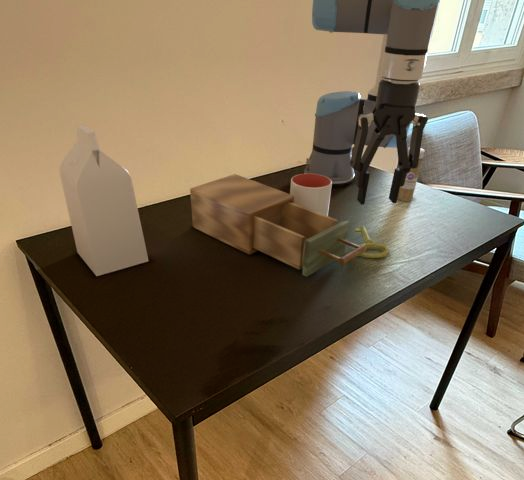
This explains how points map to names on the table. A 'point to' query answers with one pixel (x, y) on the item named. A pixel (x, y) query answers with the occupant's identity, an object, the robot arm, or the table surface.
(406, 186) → the sprinkles bottle
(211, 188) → the cabinet
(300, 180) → the cup
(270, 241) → the drawer
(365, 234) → the key
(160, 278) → the table surface
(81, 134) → the milk
